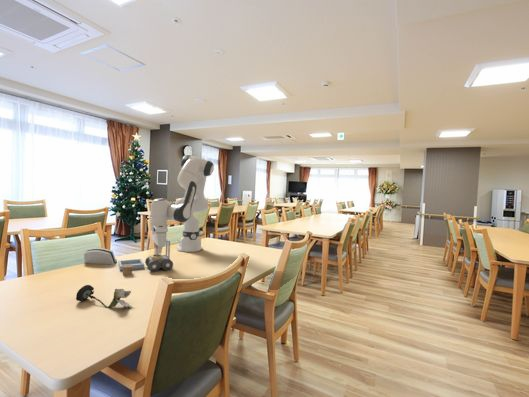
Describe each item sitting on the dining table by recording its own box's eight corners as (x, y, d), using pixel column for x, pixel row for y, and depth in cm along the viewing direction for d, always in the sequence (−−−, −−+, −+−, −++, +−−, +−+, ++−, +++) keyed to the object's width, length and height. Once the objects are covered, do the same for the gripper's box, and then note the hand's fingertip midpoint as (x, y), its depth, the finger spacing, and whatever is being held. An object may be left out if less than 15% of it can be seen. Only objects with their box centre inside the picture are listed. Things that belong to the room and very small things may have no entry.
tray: (118, 265, 156) (118, 260, 155) (141, 262, 162) (141, 258, 162) (119, 271, 145) (119, 266, 145) (143, 268, 152) (144, 264, 152)
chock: (122, 273, 143) (122, 264, 143) (130, 272, 145) (131, 263, 145) (123, 275, 139) (123, 267, 139) (131, 274, 141) (132, 266, 141)
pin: (153, 257, 153) (154, 245, 153) (158, 257, 154) (158, 244, 154) (154, 258, 151) (155, 246, 151) (159, 258, 152) (159, 245, 152)
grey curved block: (117, 261, 162) (115, 247, 158) (113, 266, 157) (110, 252, 154) (89, 260, 162) (86, 246, 158) (84, 265, 157) (81, 250, 153)
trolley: (148, 272, 145) (149, 243, 144) (145, 266, 155) (146, 239, 154) (173, 270, 152) (174, 241, 151) (168, 264, 162) (169, 238, 161)
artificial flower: (92, 299, 113) (101, 275, 115) (133, 317, 105) (141, 291, 107) (72, 301, 105) (82, 275, 106) (114, 321, 97) (124, 293, 99)
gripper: (149, 224, 159) (148, 248, 159) (156, 230, 142) (155, 256, 142) (160, 224, 162) (159, 247, 163) (168, 229, 145) (167, 255, 145)
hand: (157, 251), depth 152 cm, fingers open, 8 cm apart
